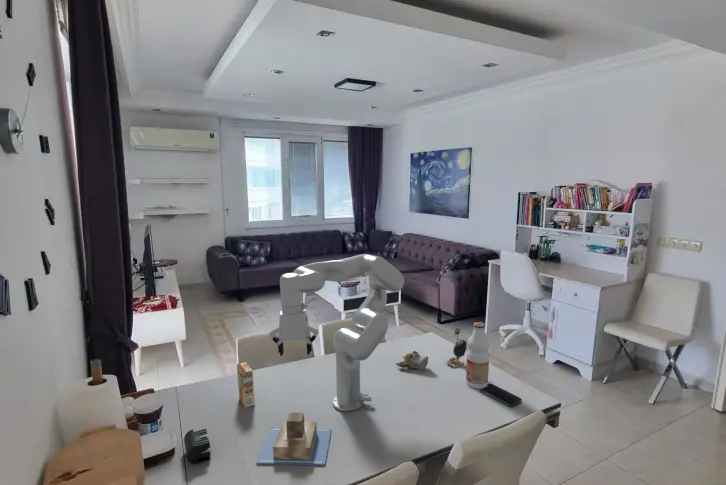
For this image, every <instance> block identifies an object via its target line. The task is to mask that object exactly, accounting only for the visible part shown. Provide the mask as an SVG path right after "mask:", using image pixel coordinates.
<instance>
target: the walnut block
mask: <svg viewBox="0 0 726 485" xmlns="http://www.w3.org/2000/svg"><path fill="white" fill-rule="evenodd" d="M285 421H286V426H287V438H302V436H303V432H304V421H305V413H304V412H289V413H288V416H287V418H286V420H285Z"/></svg>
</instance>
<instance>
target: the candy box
mask: <svg viewBox="0 0 726 485" xmlns="http://www.w3.org/2000/svg"><path fill="white" fill-rule="evenodd" d="M236 371H237V373H236V374H237V385H238V386H237V388H238V398H239V400H240V402H241V404H242V405H243V407H244V408H245V409H247V408H249V407H252V406H255V401H256V400H255V389H254V375H253V374H254V372H253V369H252V367H251V366H250V365H249V364H248V363H247V361H246V362H244V361H243V362H241V363H237V364H236Z"/></svg>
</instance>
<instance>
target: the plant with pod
mask: <svg viewBox="0 0 726 485" xmlns="http://www.w3.org/2000/svg"><path fill="white" fill-rule="evenodd" d="M460 333H461V328H460V327H458V326H456V327H455V329H454V337H455V336H456V335H457V338H456V342H455V344H454V345H453V348H452V349H453V350H452V351H453V355H454V356H455V357H451V358H449V359H448V360H447V361H446V362H445V363H446V364H448V365H449V366H451V367H452V368H458V367H461V366H463V364H464V361H461V360H460V358H461V357H465V354H466V351H467V342H468V340H465V339H462V338H461V339H459V335H460Z"/></svg>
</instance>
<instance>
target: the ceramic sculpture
mask: <svg viewBox="0 0 726 485" xmlns="http://www.w3.org/2000/svg"><path fill="white" fill-rule="evenodd" d="M402 358H403V359H404V361H400V362H397V363H395V365H397V366H398V367H400V368H403V369H406V368H410V369H418V370H420V371H421V372H422V371H425V369H426V367H427V365H428V363H429V356H427V355H426V356H425V355H424V356H422V355H420V353H419V352H418V351H416V350H413V351H412V352H411V351H410V352H408V353H406V355H404V356H402Z"/></svg>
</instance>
